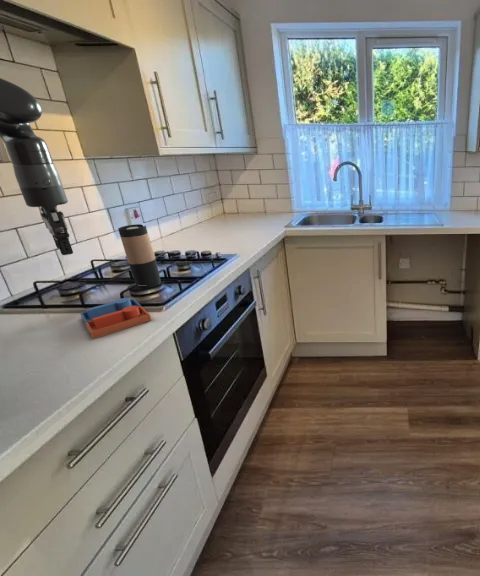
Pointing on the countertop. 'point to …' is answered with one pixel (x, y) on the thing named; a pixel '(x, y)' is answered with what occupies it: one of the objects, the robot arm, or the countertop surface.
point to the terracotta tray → (118, 324)
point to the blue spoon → (108, 308)
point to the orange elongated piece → (116, 317)
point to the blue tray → (86, 319)
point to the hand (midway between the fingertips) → (65, 251)
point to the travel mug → (140, 255)
